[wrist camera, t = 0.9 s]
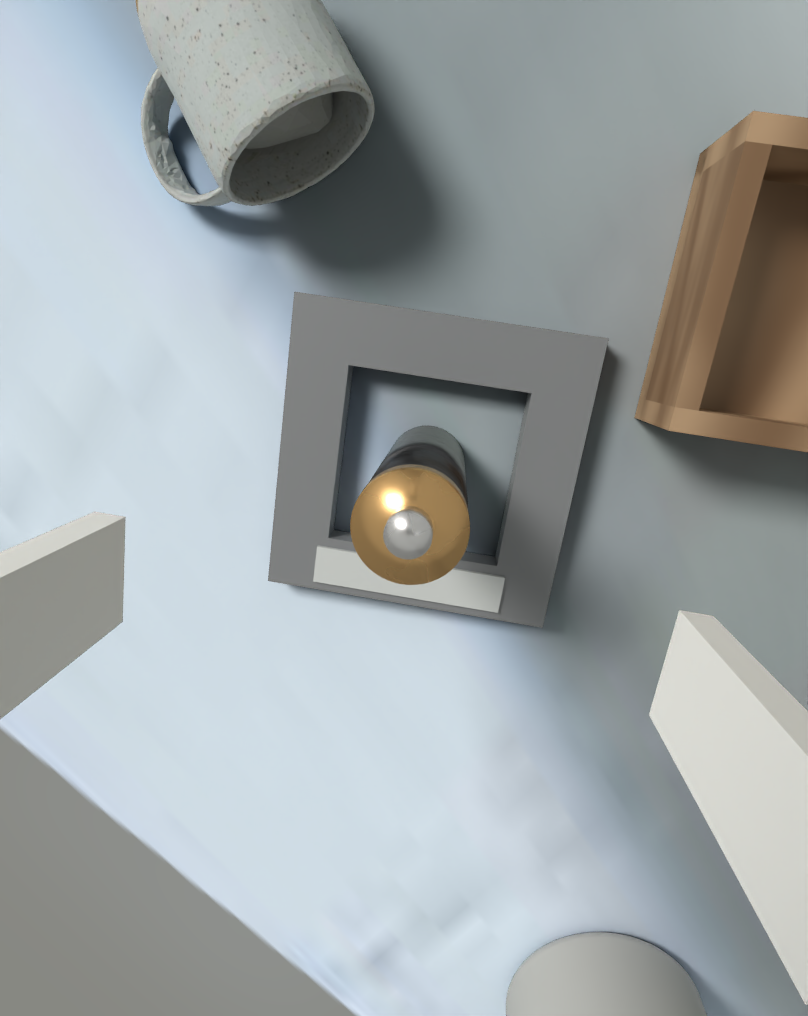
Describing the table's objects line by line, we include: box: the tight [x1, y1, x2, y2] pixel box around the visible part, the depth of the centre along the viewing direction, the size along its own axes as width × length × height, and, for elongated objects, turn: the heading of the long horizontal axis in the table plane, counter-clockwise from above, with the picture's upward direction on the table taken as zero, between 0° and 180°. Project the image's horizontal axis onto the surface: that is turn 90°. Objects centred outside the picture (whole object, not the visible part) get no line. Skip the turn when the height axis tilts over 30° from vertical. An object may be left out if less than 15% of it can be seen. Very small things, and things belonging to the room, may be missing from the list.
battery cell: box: [350, 426, 470, 585], centre depth 25 cm, size 4×4×13 cm
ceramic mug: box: [136, 0, 375, 206], centre depth 25 cm, size 10×8×7 cm
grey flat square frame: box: [268, 292, 608, 628], centre depth 31 cm, size 15×15×2 cm
